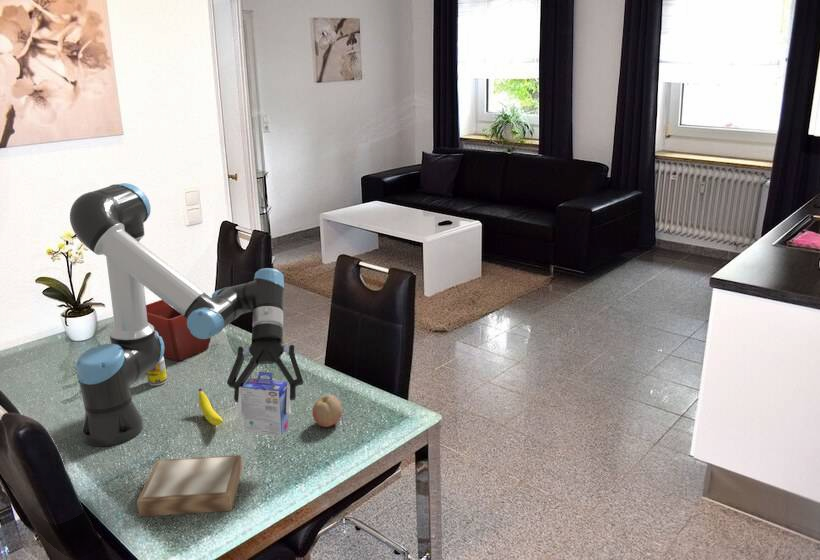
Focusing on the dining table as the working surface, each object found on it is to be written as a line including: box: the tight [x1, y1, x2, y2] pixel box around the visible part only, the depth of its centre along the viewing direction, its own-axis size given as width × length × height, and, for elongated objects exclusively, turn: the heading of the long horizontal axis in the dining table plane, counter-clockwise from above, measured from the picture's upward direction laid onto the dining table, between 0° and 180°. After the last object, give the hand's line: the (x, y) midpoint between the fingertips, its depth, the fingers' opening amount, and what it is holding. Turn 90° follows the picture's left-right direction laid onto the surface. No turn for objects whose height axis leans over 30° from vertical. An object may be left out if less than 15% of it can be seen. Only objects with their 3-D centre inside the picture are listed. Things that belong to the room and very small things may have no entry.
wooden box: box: [136, 454, 244, 517], centre depth 160 cm, size 20×16×4 cm
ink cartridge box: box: [241, 371, 291, 437], centre depth 166 cm, size 10×6×14 cm, turn 79°
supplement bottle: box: [146, 356, 168, 386], centre depth 214 cm, size 6×6×10 cm
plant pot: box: [146, 299, 212, 362], centre depth 235 cm, size 19×19×17 cm
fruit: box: [311, 394, 343, 428], centre depth 187 cm, size 8×8×8 cm
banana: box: [198, 388, 224, 427], centre depth 190 cm, size 3×19×6 cm, turn 32°
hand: (264, 414), depth 164 cm, fingers closed on ink cartridge box, 11 cm apart
